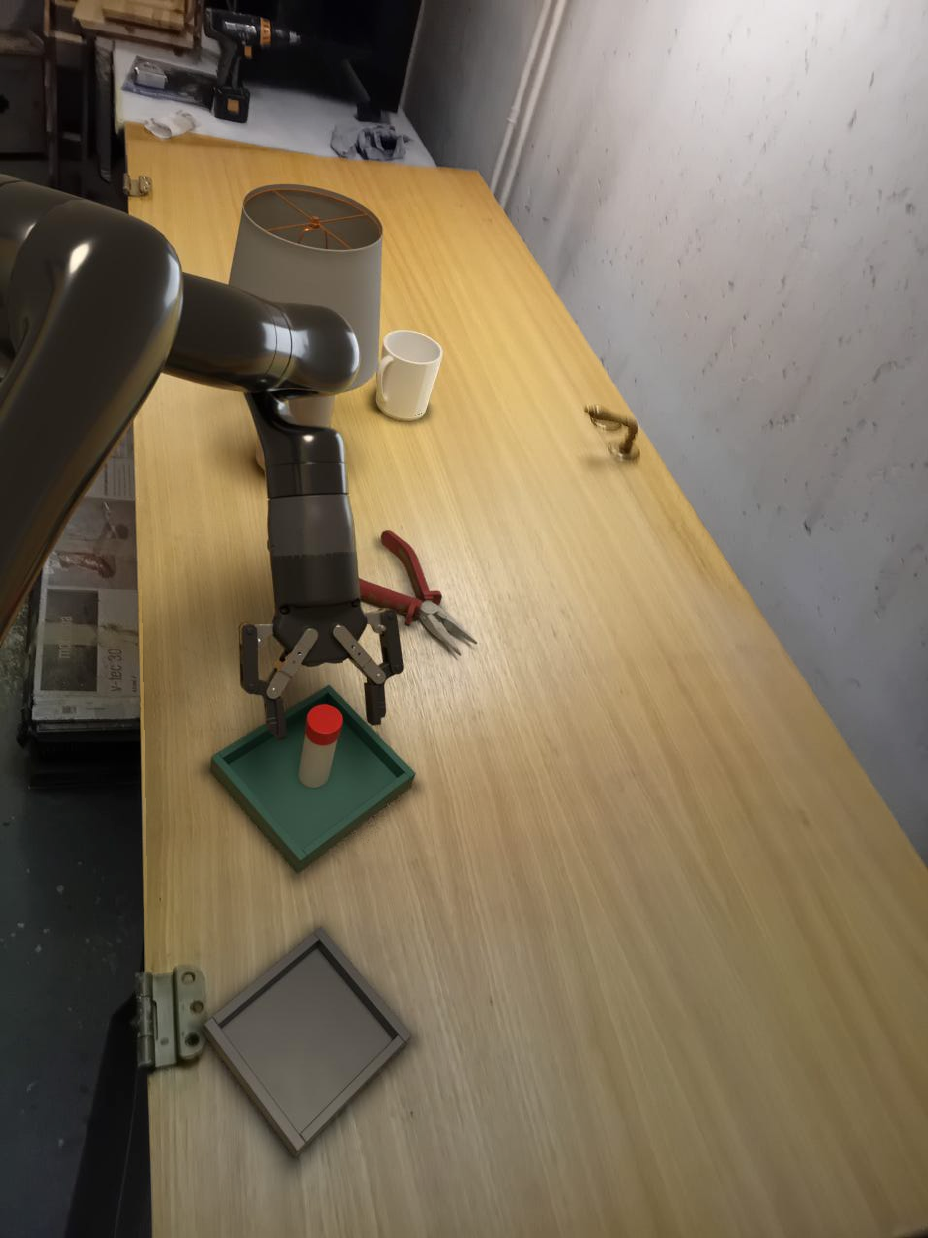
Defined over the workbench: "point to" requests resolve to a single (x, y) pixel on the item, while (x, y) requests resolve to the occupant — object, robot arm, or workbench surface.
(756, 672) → the workbench surface
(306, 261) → the lamp
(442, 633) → the pliers
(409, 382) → the mug
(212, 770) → the tray far
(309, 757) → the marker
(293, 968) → the tray near
